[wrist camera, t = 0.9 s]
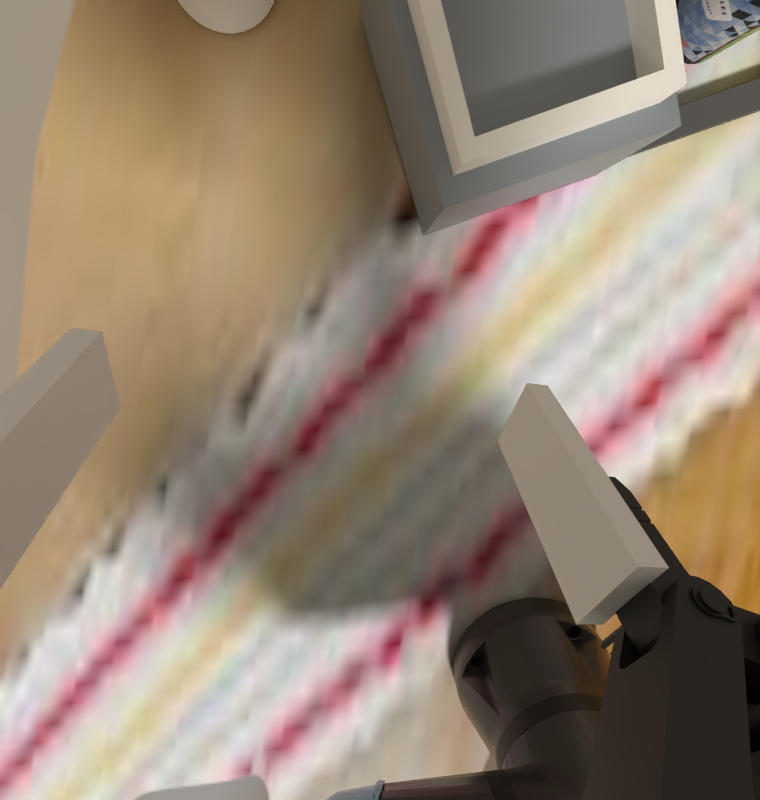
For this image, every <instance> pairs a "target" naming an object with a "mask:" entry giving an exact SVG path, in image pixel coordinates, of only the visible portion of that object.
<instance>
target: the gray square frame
mask: <svg viewBox="0 0 760 800" xmlns="http://www.w3.org/2000/svg"><path fill="white" fill-rule="evenodd" d="M758 111H760V78H759V79H756V80H753V81H750V82H747V83H745V84H742V85H739V86H736V87H733V88H730V89H728V90H725V91H722V92H719V93H716V94H713V95H710V96H708V97H705V98H702V99H699V100H696V101H693V102H691V103H688V104H685V105H682V106H679V113H680V120H681V126H680V127H678V128H676V129H675V130H673V131H671V132H669V133H668V134H666V135H664V136H662V137H661V138H659V139H657V140H656V141H654V142H652V143H650V144H649V145H647V146H645V147H643V148H642V149H640V150H638V151H636V152H635V153H633V154H631V155H630V156H632V155H634V154H637V153H640V152H643V151H646V150H649V149H652V148H654V147H657V146H660V145H663V144H666V143H669V142H672V141H675V140H677V139H680V138H683V137H686V136H689V135H692V134H695V133H697V132H700V131H703V130H706V129H709V128H712V127H715V126H718V125H720V124H723V123H726V122H729V121H732V120H735V119H738V118H740V117H743V116H746V115H749V114H752V113H755V112H758ZM628 157H629V156H628Z"/></svg>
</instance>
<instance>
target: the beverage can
mask: <svg viewBox="0 0 760 800" xmlns="http://www.w3.org/2000/svg"><path fill="white" fill-rule="evenodd" d="M676 8H677V15H678V22H679V30H680V37H681V44H682V51H683V59H684V63H687V64H696V63H700V62H703V61H705V60H707V59H709V58H711V57H712V56H714V55H716V54H718V53H719V52H721V51H723V50H725V49H726V48H728V47H730V46H732V45H733V44H735V43H737V42H738V41H740V40H742V39H744V38H745V37H747V36H749V35H751V34H752V33H754V32H756V31H758V30H759V29H760V0H676Z"/></svg>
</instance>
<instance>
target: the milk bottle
mask: <svg viewBox="0 0 760 800" xmlns="http://www.w3.org/2000/svg"><path fill="white" fill-rule="evenodd" d="M274 1H275V0H178V2H179V3H180V5H181V6H182V7H183V9H184V10H185V11H186V12H187V13H188V14H189V15H190V16H191V17H192V18H193V19H194V20H195V21H197V22H198V23H199V24H201V25H203V26H204V27H206V28H209V29H211V30H213V31H217V32H220V33H228V34H236V33H241V32H245V31H247V30H249V29H252V28H254V27H255V26H256V25H257V24H259V23H260V22H261V21H262V20H263V19H264V18H265V17H266V15H267V14H268V13H269V11H270V9H271V7H272V6H273V4H274Z"/></svg>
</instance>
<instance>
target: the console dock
mask: <svg viewBox="0 0 760 800" xmlns="http://www.w3.org/2000/svg"><path fill="white" fill-rule="evenodd" d="M361 4H362V24H363V28H364V31H365V35H366V38H367V42H368V45H369V48H370V52H371V55H372V59H373V62H374V66H375V69H376V73H377V76H378V80H379V83H380V87H381V90H382V93H383V97H384V100H385V104H386V107H387V111H388V114H389V118H390V121H391V125H392V128H393V132H394V135H395V138H396V142H397V145H398V149H399V152H400V156H401V159H402V163H403V166H404V170H405V173H406V176H407V180H408V183H409V187H410V190H411V194H412V197H413V201H414V204H415V208H416V211H417V215H418V218H419V221H420V225H421V228H422V232H423V235H425V234H428V233H431V232H434V231H437V230H440V229H443V228H445V227H448V226H451V225H454V224H457V223H460V222H463V221H466V220H468V219H471V218H474V217H477V216H480V215H483V214H486V213H489V212H491V211H494V210H497V209H500V208H503V207H506V206H509V205H511V204H514V203H517V202H520V201H523V200H526V199H529V198H532V197H534V196H537V195H540V194H543V193H546V192H549V191H552V190H555V189H557V188H560V187H563V186H566V185H569V184H572V183H575V182H578V181H580V180H583V179H586V178H589V177H592V176H595V175H597V174H598V173H600V172H602V171H603V170H605V169H607V168H609V167H610V166H612V165H614V164H616V163H617V162H619V161H621V160H623V159H624V158H626V157H628V156H630V155H631V154H633V153H635V152H636V151H638V150H640V149H642V148H643V147H645V146H647V145H649V144H650V143H652V142H654V141H656V140H657V139H659V138H661V137H662V136H664V135H666V134H668V133H669V132H671V131H673V130H675V129H676V128H678V127H680V126H681V120H680V113H679V106H678V99H677V92H676V91H677V90H679V89H680V88H682V87H683V86H685V85H686V84H687V81H686V73H685V66H684V59H683V51H682V44H681V37H680V30H679V22H678V15H677V8H676V0H361Z"/></svg>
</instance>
